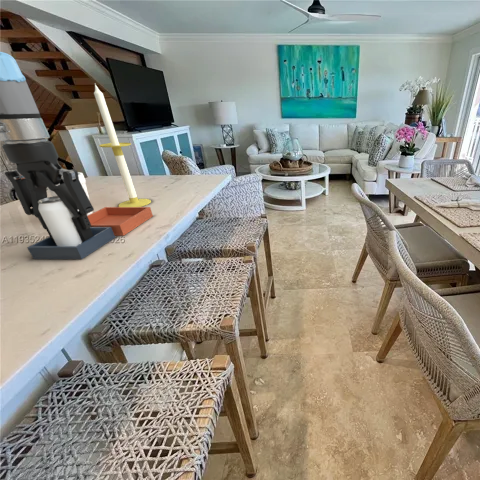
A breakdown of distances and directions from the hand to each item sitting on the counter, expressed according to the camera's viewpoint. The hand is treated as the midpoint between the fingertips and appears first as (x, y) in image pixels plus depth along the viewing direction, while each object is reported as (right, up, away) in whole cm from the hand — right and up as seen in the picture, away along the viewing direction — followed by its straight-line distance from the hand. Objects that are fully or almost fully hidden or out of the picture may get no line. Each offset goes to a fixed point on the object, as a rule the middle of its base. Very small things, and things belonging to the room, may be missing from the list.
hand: (74, 240), depth 65 cm
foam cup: (-16, +7, +20) cm, 26 cm away
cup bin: (0, +4, +13) cm, 14 cm away
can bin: (0, -2, +1) cm, 2 cm away
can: (0, -1, +1) cm, 2 cm away
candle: (-6, +13, +30) cm, 33 cm away
